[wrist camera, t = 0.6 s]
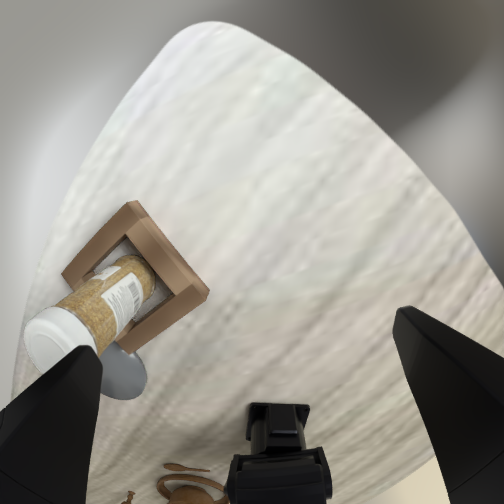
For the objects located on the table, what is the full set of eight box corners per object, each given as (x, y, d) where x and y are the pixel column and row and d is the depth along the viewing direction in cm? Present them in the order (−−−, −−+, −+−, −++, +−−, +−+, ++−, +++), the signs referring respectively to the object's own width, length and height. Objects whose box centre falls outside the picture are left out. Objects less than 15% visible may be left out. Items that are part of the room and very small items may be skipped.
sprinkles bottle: (116, 248, 24) (16, 307, 11) (161, 262, 25) (81, 340, 12) (110, 292, 25) (26, 370, 12) (153, 307, 26) (85, 402, 13)
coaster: (150, 403, 29) (149, 407, 28) (84, 386, 29) (82, 389, 28) (143, 340, 27) (141, 343, 26) (70, 324, 26) (67, 326, 26)
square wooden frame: (209, 290, 25) (205, 300, 23) (136, 343, 27) (128, 355, 25) (137, 200, 23) (126, 202, 21) (72, 267, 25) (60, 273, 23)
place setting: (231, 510, 37) (230, 535, 31) (128, 493, 37) (120, 515, 31) (230, 467, 32) (228, 499, 27) (101, 443, 32) (88, 469, 27)
